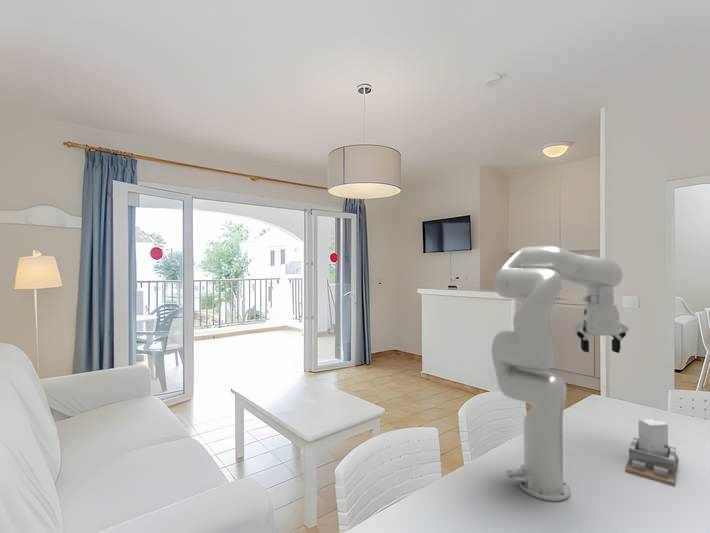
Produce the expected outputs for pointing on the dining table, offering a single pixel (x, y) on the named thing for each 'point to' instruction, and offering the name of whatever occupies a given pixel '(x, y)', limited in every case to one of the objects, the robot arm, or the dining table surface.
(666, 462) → the socket board
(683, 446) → the dining table surface
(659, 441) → the skincare box
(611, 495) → the dining table surface
